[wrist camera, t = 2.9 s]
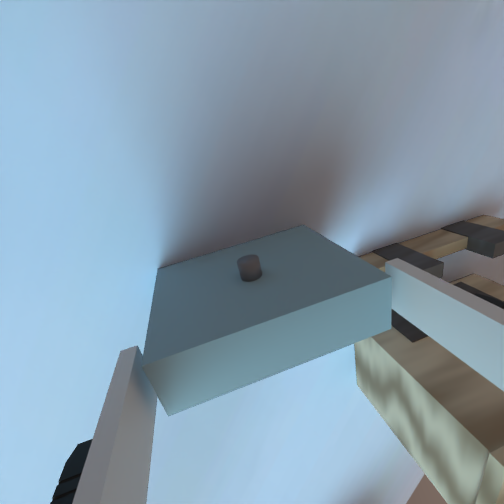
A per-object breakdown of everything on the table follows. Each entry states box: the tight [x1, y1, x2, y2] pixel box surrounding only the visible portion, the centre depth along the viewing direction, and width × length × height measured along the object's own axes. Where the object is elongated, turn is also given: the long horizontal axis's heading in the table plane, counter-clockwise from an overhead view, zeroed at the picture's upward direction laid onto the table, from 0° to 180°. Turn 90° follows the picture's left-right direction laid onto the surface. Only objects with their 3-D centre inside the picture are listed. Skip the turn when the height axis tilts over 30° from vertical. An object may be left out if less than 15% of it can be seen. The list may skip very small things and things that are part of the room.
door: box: [141, 225, 392, 416], centre depth 15 cm, size 4×11×9 cm, turn 103°
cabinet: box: [354, 215, 504, 504], centre depth 20 cm, size 16×14×13 cm
